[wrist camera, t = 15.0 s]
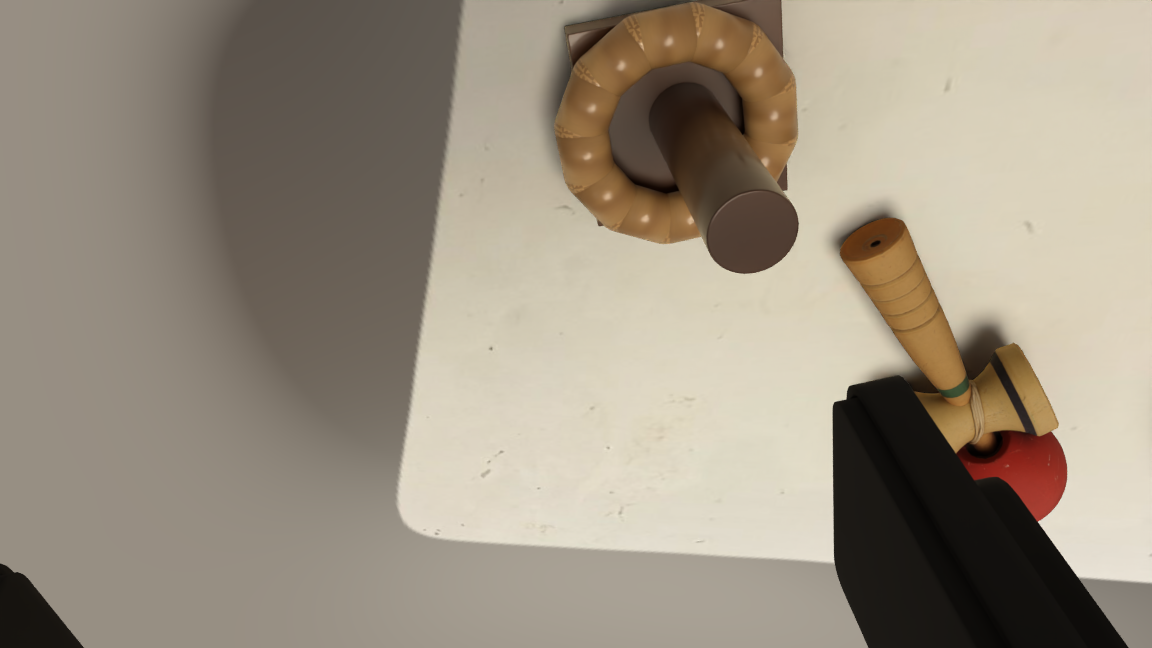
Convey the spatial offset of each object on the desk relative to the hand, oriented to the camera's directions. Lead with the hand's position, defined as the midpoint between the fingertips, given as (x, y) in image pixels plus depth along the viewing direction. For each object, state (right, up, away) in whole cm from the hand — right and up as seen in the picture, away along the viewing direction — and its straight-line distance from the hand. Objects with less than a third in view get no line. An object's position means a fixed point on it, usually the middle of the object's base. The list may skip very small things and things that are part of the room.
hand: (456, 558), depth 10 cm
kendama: (+19, +1, +34) cm, 39 cm away
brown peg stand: (+5, +11, +26) cm, 29 cm away
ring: (+5, +10, +24) cm, 26 cm away
